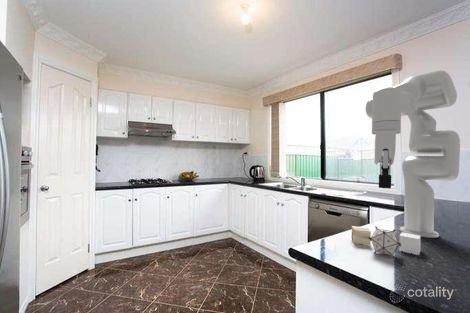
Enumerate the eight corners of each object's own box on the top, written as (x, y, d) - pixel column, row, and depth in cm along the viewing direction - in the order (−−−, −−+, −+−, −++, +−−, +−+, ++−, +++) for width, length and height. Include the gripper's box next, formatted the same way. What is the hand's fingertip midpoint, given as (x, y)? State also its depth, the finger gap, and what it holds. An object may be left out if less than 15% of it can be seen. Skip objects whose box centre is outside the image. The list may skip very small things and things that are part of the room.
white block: (401, 247, 79) (401, 232, 79) (420, 251, 75) (420, 235, 76) (399, 251, 75) (399, 235, 75) (419, 255, 72) (419, 239, 72)
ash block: (351, 239, 85) (351, 226, 85) (366, 241, 84) (367, 227, 84) (354, 244, 80) (354, 229, 80) (370, 246, 79) (370, 231, 79)
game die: (387, 269, 69) (385, 248, 65) (363, 250, 77) (360, 229, 72) (409, 253, 71) (409, 231, 66) (383, 235, 78) (382, 215, 74)
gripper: (372, 132, 81) (371, 185, 80) (370, 125, 68) (369, 188, 67) (399, 131, 77) (398, 187, 76) (402, 123, 64) (401, 191, 63)
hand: (384, 187), depth 72 cm, fingers closed
